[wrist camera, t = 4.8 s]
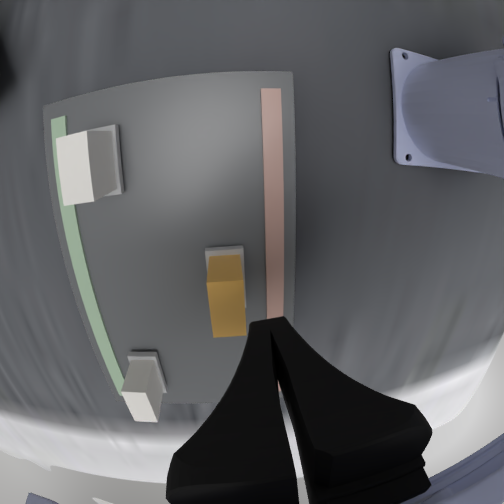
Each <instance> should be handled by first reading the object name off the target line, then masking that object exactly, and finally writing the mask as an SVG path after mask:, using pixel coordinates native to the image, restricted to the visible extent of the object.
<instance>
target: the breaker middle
mask: <svg viewBox="0 0 504 504" xmlns="http://www.w3.org/2000/svg"><path fill="white" fill-rule="evenodd" d="M205 257H206V267H207V282H206V283H207V291H208V300H209V308H210V316H211V324H212V331H213V338H216V337H232V336H246V335H247V333H246V316H245V308H246V290H245V271H244V251H243V245H240V246H225V247H210V248H205Z"/></svg>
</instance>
